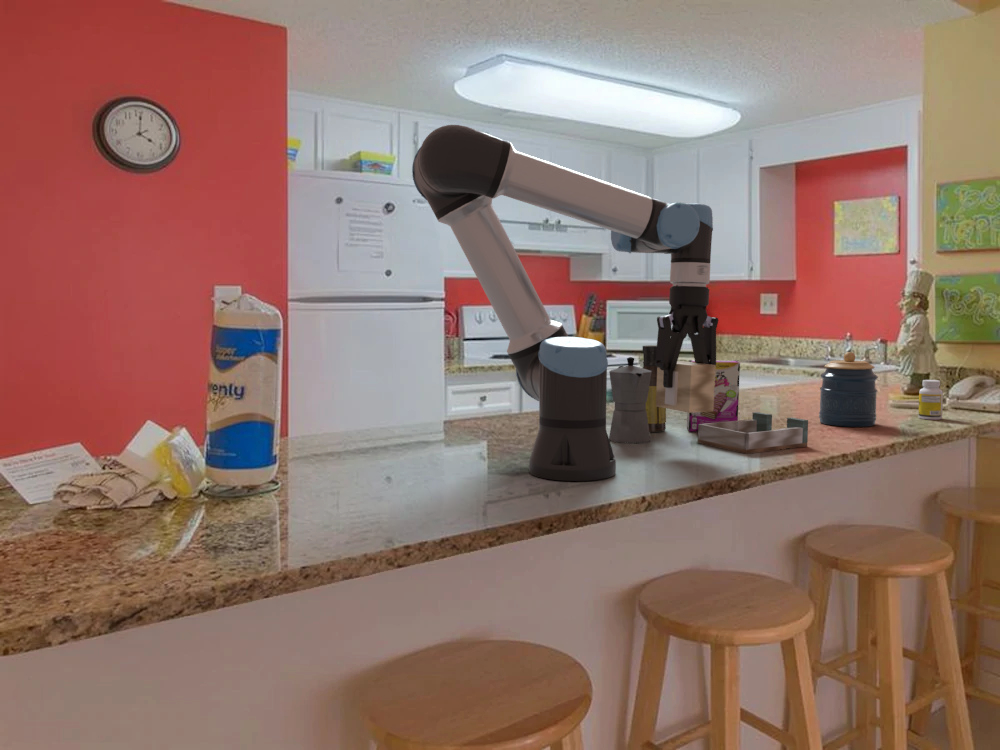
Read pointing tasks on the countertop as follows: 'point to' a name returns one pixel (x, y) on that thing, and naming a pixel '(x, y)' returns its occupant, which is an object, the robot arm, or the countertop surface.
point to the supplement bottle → (930, 400)
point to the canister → (848, 393)
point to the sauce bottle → (653, 392)
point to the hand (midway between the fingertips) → (684, 403)
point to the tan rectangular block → (690, 387)
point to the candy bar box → (720, 396)
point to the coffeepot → (630, 404)
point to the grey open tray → (754, 434)
